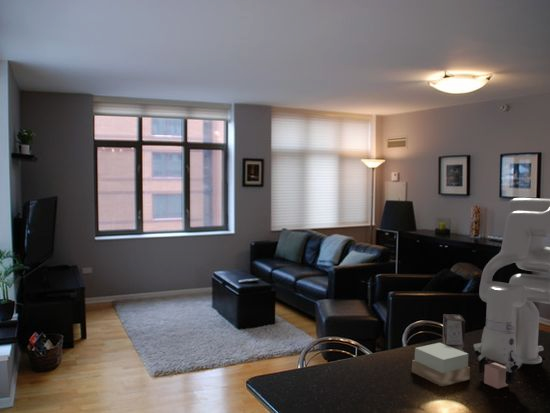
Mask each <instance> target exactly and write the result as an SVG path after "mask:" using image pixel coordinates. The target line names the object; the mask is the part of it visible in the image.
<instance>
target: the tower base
mask: <svg viewBox="0 0 550 413" xmlns="http://www.w3.org/2000/svg"><path fill="white" fill-rule="evenodd" d="M411 373H413V374H415V375H416V376H417V375H418V376H419V377H421V378H424V379H426V380H427V381H430V382H431V383H433V384H435V385H437V384H438V385H437V386H440V387H441V386H442V387H445V386H449V385H454V384H457V383H460V382H465V381H468V380H470V377H471V376H470V373H471V367H470V366H468V367H466V368H462V369H458V370H455V371H451V372H447V373H440V372H438V371H436V370H434V369H431V368H429V367H427V366H425V365H423V364H420V363H418V362H416V361H415V359H412V361H411Z"/></svg>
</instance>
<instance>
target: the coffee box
mask: <svg viewBox="0 0 550 413" xmlns="http://www.w3.org/2000/svg"><path fill="white" fill-rule="evenodd" d="M442 317H443V318H442V342H441V343H442V344H444V345H447V346H450V347H452V348H455V349H458V350H460V351H463V352H465V338H466V337H465V336H466V335H465V333H466V320H465V319H464V317H463V316H462V315H461V314H454V313H452V314H451V313H450V314H447V313H443V316H442Z"/></svg>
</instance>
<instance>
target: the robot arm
mask: <svg viewBox="0 0 550 413" xmlns="http://www.w3.org/2000/svg"><path fill="white" fill-rule="evenodd" d="M507 209H508V210H507V211H508V215H507V217H506V219H505V227H504V230H503V237H502V241H501V249H500V250H499V253H497V254H496V255H494V256H493V257H492V258H491V259H490V260H489V261H488V263H486V264H485V266H484V268H483V271H482V273H481V278H480V283H479V291H478V292H479V298H480V299H481V301H482V302H485V303H486V314H485V315H486V317H485V326H484V327H483V331H482V333H481V335H482V336H481V338H480V342H478V343H473V349H474V353H475V354H476V357H477V360H478V361H479V364H478V372H479V374H483V373H484V372H485V365H487V364H489V361H488V359H489V360H491V361H494V362H496V363H498V364H501V365H503V366H505V367H506V368H507V370H508V371H506V381H505V383H506V384H508V385H510V384H514V381H515V375H516V373H515V372H516V371H517V370H519V369H520V368H521V367H522V365H523V364H524V365H537V364H541V363H542V362H543V358H542V357H541V355H539V353H540V352H542V351H544V346H542V345H539V330H540V329H539V328H540V326H539V325H540V312H539V309H538V307H537V306H536V304H535V303H541V304H548V305H550V246H544V244H543V240H544V237H545V238H547V237H550V198H536V197H515V198H512V199H510V200H509V201H508V205H507ZM513 263H515V265H516V266H517V268H518V269H521V270H524V271H529V272H537V273H542V274H543V273H544V274H547V275H548V276H544V275H543V276H542V275H538V274H527V273H515V274H513V275H512V276H511V277H510V278H509V282H508V283H507V282H501V281H495V280H493V276H494V275H495V273H496V272H497V271H498V270H499V269H501V268H504V267H505V266H509V265H511V264H513ZM534 302H535V303H534ZM514 363H515V364H514Z"/></svg>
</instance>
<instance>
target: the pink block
mask: <svg viewBox="0 0 550 413" xmlns="http://www.w3.org/2000/svg"><path fill="white" fill-rule="evenodd" d="M506 371H508V370H507V368H506V366H505V365H504V364H501V363H499V362H491V363H487V365H485V372H484V375H483V376H484V378H483V384H486V385H488V386H490V387H492V388H495V389H502V388H505V387H508V386H509V384H506V383H505V381H506Z"/></svg>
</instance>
